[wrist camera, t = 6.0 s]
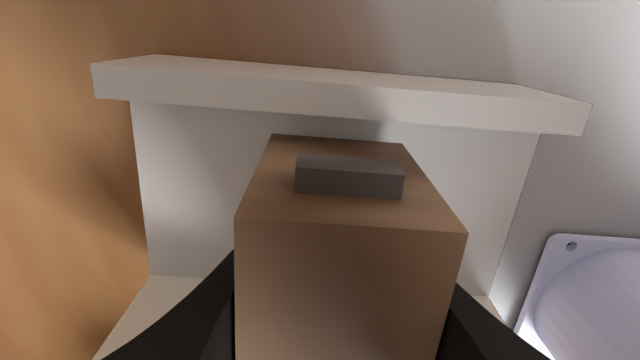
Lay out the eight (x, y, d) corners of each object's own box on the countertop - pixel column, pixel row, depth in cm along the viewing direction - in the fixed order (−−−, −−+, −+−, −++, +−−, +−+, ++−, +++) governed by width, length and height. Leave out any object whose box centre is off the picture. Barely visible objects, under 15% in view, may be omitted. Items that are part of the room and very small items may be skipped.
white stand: (517, 84, 15) (666, 124, 9) (460, 286, 19) (532, 418, 13) (155, 53, 15) (23, 72, 8) (174, 268, 19) (97, 394, 12)
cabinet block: (405, 126, 12) (476, 204, 7) (377, 284, 15) (413, 436, 9) (272, 115, 12) (233, 187, 7) (267, 277, 15) (236, 427, 9)
